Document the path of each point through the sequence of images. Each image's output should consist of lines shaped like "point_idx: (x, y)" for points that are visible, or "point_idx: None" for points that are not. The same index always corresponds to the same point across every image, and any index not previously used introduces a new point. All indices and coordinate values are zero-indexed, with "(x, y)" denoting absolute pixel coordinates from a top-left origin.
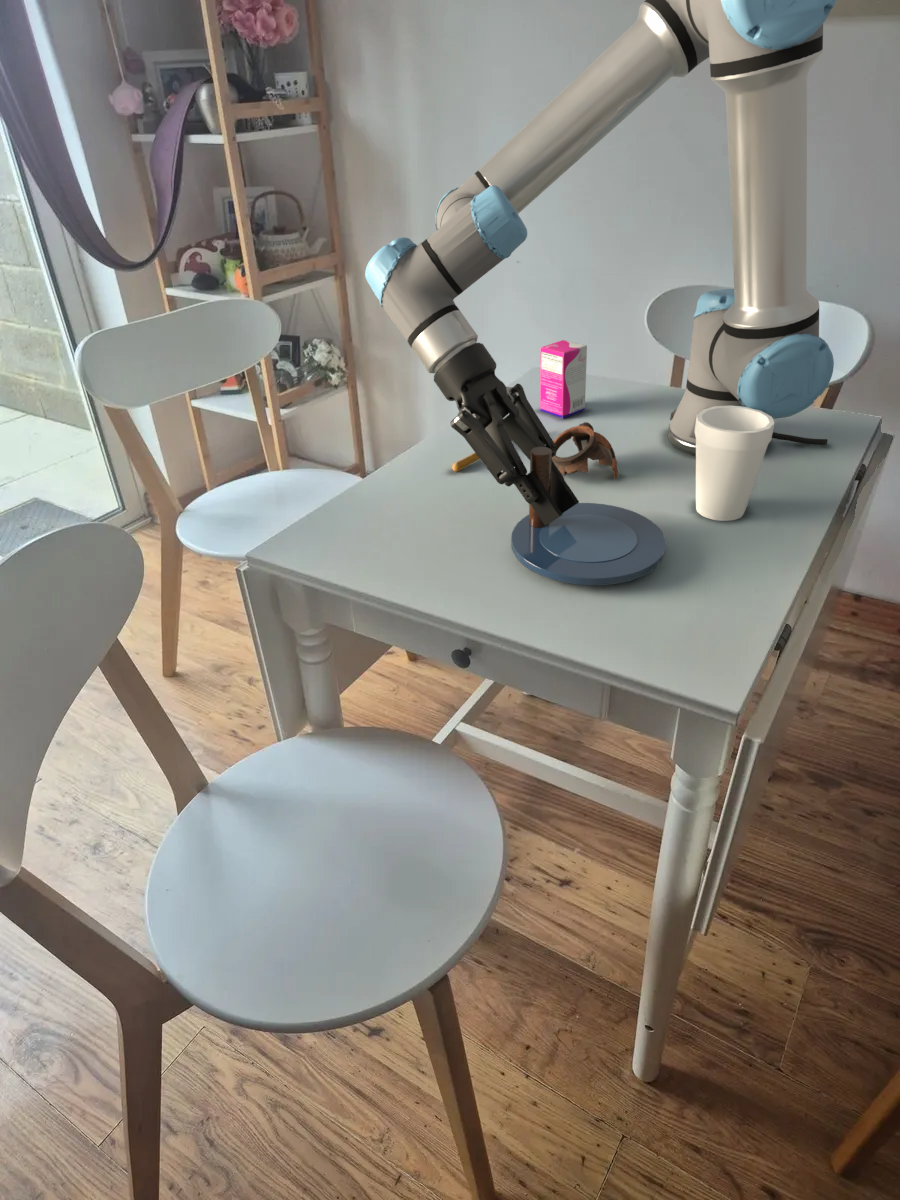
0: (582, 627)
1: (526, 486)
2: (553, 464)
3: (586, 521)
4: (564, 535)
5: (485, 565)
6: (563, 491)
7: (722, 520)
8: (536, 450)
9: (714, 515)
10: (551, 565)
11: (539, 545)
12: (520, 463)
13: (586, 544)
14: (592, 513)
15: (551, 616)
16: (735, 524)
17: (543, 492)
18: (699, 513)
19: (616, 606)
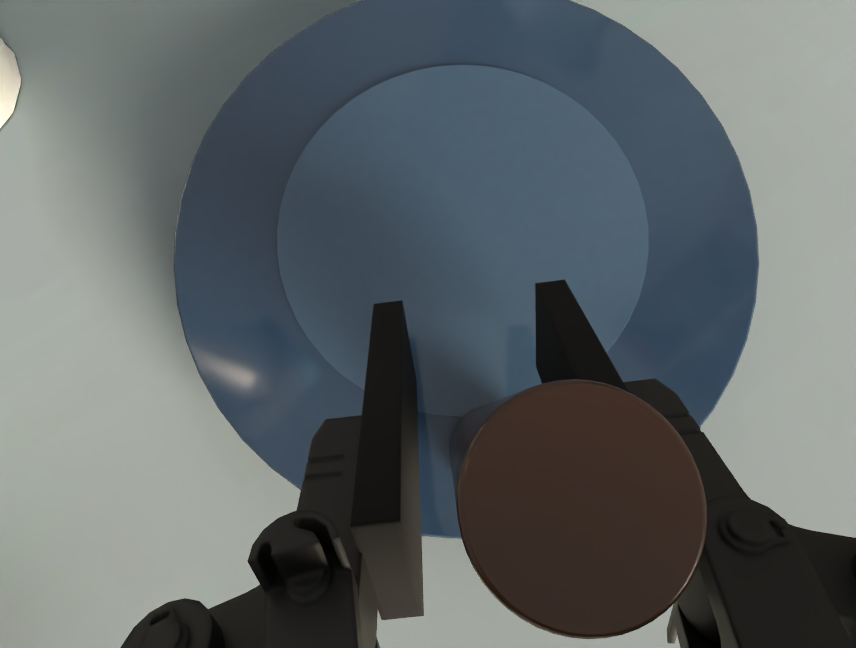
0: (793, 36)
1: (714, 451)
2: (357, 483)
3: (362, 302)
4: (511, 300)
5: (768, 476)
6: (405, 371)
7: (12, 52)
8: (611, 557)
9: (7, 62)
10: (714, 210)
11: (635, 332)
12: (765, 599)
13: (511, 200)
14: (284, 327)
15: (821, 125)
16: (15, 18)
17: (610, 366)
18: (1, 125)
19: (643, 28)
